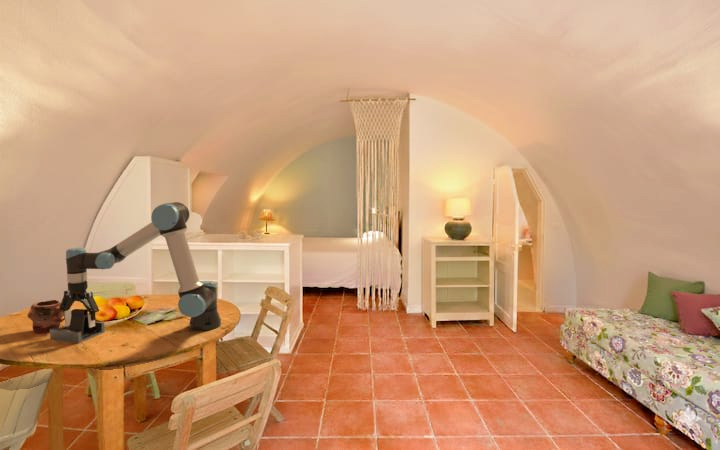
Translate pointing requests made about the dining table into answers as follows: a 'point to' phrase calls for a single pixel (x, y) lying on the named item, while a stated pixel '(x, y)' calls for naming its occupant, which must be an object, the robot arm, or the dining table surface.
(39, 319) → the brown clay mug
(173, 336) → the dining table surface
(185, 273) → the robot arm
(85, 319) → the door stopper
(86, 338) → the bracket
